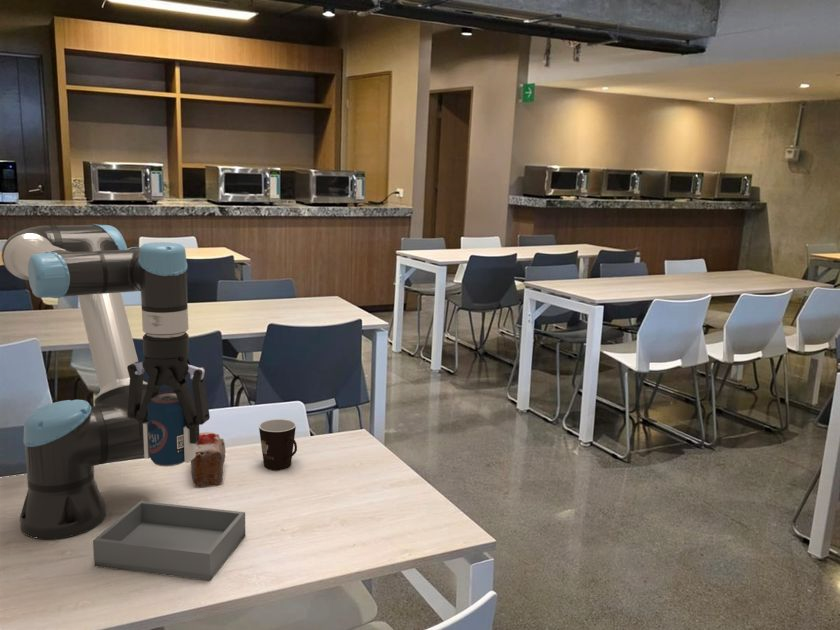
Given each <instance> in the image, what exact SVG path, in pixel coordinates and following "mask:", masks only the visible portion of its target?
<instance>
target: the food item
mask: <svg viewBox="0 0 840 630" xmlns="http://www.w3.org/2000/svg"><path fill="white" fill-rule="evenodd" d="M199 437H200V438H199V441H198V442H197V443H195V454H196V457H195V458H194V459H192V460H191V461H190V472H191V478H192V482H193V484H194V486H195V487H196V488H204V487H212V486H220V485H222V483H223V479H224V465H225V463H226V461H225V460H226V445H225V439H224V438H220V434H219V433H218V434H217V433H214V432H210V431H209V432H208V431H206V432H205V431H204V432H199Z"/></svg>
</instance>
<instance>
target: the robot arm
mask: <svg viewBox="0 0 840 630" xmlns="http://www.w3.org/2000/svg"><path fill="white" fill-rule="evenodd" d="M1 261H2V263H3V265H4V267H5V268H6V270H7V271H8V272H9V273H10V274H12V275H13V276H15V277H17V278H18V279H21V280H24V281H25V280H26V281H29V287H30V289H31V292H32V294H33V295H34V297H37V298H41V299H42V298H43V299H47V298H48V299H49V298H52V299H60V298H67V297H76V296H77V298H78V301H79V306H80V307H79V308H80V311H81V315H82V320H83V323H84V328H85V332H86V336H87V341H88V345H89V349H90V354H91V358H92V362H93V366H94V371H95V375H96V379H97V384H98V387H99V392H98V394H97V395H96V397H94V400H93V401H94V406H91V404H90V403H89V402H88V401H86V400H84V399H73V400H71V399H66V400H60V401H55V402H51V403H49V404H46V405H42V406H41V407H39V408H37V409H35V410H34V411H31V413H30V414H29V415H28V416H27V417H26V418H25V420H24V421H23V422H24V423H23V439H22V441H23V445H24V450H25V451H24V452H25V464H26V465H25V466H26V480H27V491H26V495H25V498H24V501H23V505H22V509H21V512H20V516H19V524H20V526H19V527H20V530H22V531H21V533H23V534H24V533H25V534H27V535H29V536H28V537H30V536H32V537H31V538H33V537H37V538H36V539H38V538H45V539H44V540H56V539H65V538H70V537H74V536H77V535H80V534H83V533H85V532H88V531H90V530H92V529H94V528H96V527H97V526H99V525H100V524H101V523H102V522H104V520H105V518H106V516H107V507H106V503H105V502H106V501H105V500H104V498H103V496H102V494H101V491H100V489H99V487H98V484H97V482H96V480H95V471H94V470H95V466H99V465H104V464H108V463H113V462H118V461H124V460H128V459H132V458H137V457H144V459H146V460H147V459H151V458H150V457H149V438H148V412H147V407H148V405H149V403H150V401H151V397H152V398H153V397H155V396H156V395H157V394H158V393H160V389H161V386H168V387H171V389H172V392H175V393H176V395H177V398H178V400H179V403H180V406H181V407H182V410H183V414H184V416H185V419H186V421H187V424H188V425H186V426H185V427H184V456H185V462H184V463H191V460H192V459H194V458H195V457H196V454H195V443H197V442H198V441H199V438H200V437H199V433H200V425H201V426H202V425H204V424H205V423H206V422H208V421H209V420H210V418H211V417H210V416H211V415H210V410H209V408H210V407H209V403H208V401H209V400H208V394H207V388H206V387H207V386H206V380H205V379H206V374H207V368H206V366H201V367H199V366H198V367H197V366H195V365H192V363H191V361H190V358H189V355H190V354H189V353H190V339H189V334H188V333H187V331H189V312H188V311H189V310H188V262H187V254H186V248H185V247H184V245H182V244H180V243H176V242H174V243H173V242H162V241H161V242H147V243H143V244H142V245H141V246H140V247H138V246H131V247H129V248H128V247H127V243H126V241H125V239H124V237H123V235H122V233H121V232H120V230H118V228H116V227H114V226H113V225H111V224H110V225H108V224H98V223H97V224H96V223H92V224H91V223H90V224H86V225H85V224H82V225H80V224H78V225H76V224H75V225H72V224H71V225H67V224H66V225H38V226H33V227H28V228H24V229H22V230H19V231H18V232H16V233H15V234H12V235H11V236H9V238H8V239H7V240H6V241H5V243H4V244H3V247H2V249H1ZM131 292H132V293H133V292H140V300H141V301H140V302H141V304H140V305H141V325H142V326H141V327H142V332H143V333H144V335H143V336H142V350H143V351H142V352H143V353H142V354H143V355H144V357H143V361H141V362H140V361H139V359H138V355H137V352H136V351H137V350H136V347H135V343H134V340H133V336H132V332H131V327H130V324H129V319H128V317H127V316H128V315H127V311H126V309H125V303H124V300H123V296H122V293H131ZM145 372H146V374H147V375H148V377H149V378H148V380H147V381H144V373H145ZM188 374H189V375H190V380H191V384H192V385H191V387H192V393H193V396H192V394H191V392H190V389H189V382H188V379H187V377H186V376H187V375H188ZM25 534H24V535H25ZM27 535H26V536H27Z"/></svg>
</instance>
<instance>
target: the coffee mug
mask: <svg viewBox="0 0 840 630" xmlns="http://www.w3.org/2000/svg"><path fill="white" fill-rule="evenodd" d="M296 427H297V424H296V422H295V421H292V420H290V419H284V418H282V419H279V418H274V419H269V420H265V421H262V422H260V423H259V425H258V430H259V437H260V445H261V453H262V460H263V467H264V468H265V469H266V470H268V471H276V472H277V471H284V470H287V469H289V468H290V467H291V466H292V461H293V460H292V459H293V456H294V455H296V453H297V451H298V444H297V442H296V439H295V435H296Z"/></svg>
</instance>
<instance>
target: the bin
mask: <svg viewBox="0 0 840 630" xmlns="http://www.w3.org/2000/svg"><path fill="white" fill-rule="evenodd" d="M245 538H246V511H240V510H238V511H237V510H228V509H227V510H226V509H220V508H219V509H218V508H209V507H200V506H190V505H181V504H180V505H179V504H173V503H164V502H161V503H160V502H154V501H145V500H144V501H143V500H139V501H138V502H137V503H136V504H134V505H133V506H132V507H130V508H129V509H128V510H127V511H126V512H125V513H124V514H122V515H121V516H120V517H118V519H116V520H115V521H114V522H113V523H112V524H110V525H109V526H108V527H107V528H106V529H104V530H103V531H102V532H101V533H100V534H99V535H97V536H96V537H95V538H94V539H93V540H92V546H93V547H92V549H93V551H92V552H93V564H94V565H93V567H95V566H98V567H97V568H104V567H105V568H106V569H113V570H121V571H122V570H123V571H129V572H130V571H131V572H139V573H146V574H153V575H162V576H170V577H176V578H177V577H178V578H179V577H180V578H185V579H186V578H187V579H196V580H202V581H209V582H210V581H212V579H213V578H214V577H215V575H217V573H218V572H219V570H220V569H221V568H222V567H223V565H224V564H225V563H226V562H227V560H228V559H229V558H230V557H231V556H232V554H233V552H234V551H235V550H236V548H237V547H238V546H239V545H240V544H241V543H242V541H243V540H244V539H245Z"/></svg>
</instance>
